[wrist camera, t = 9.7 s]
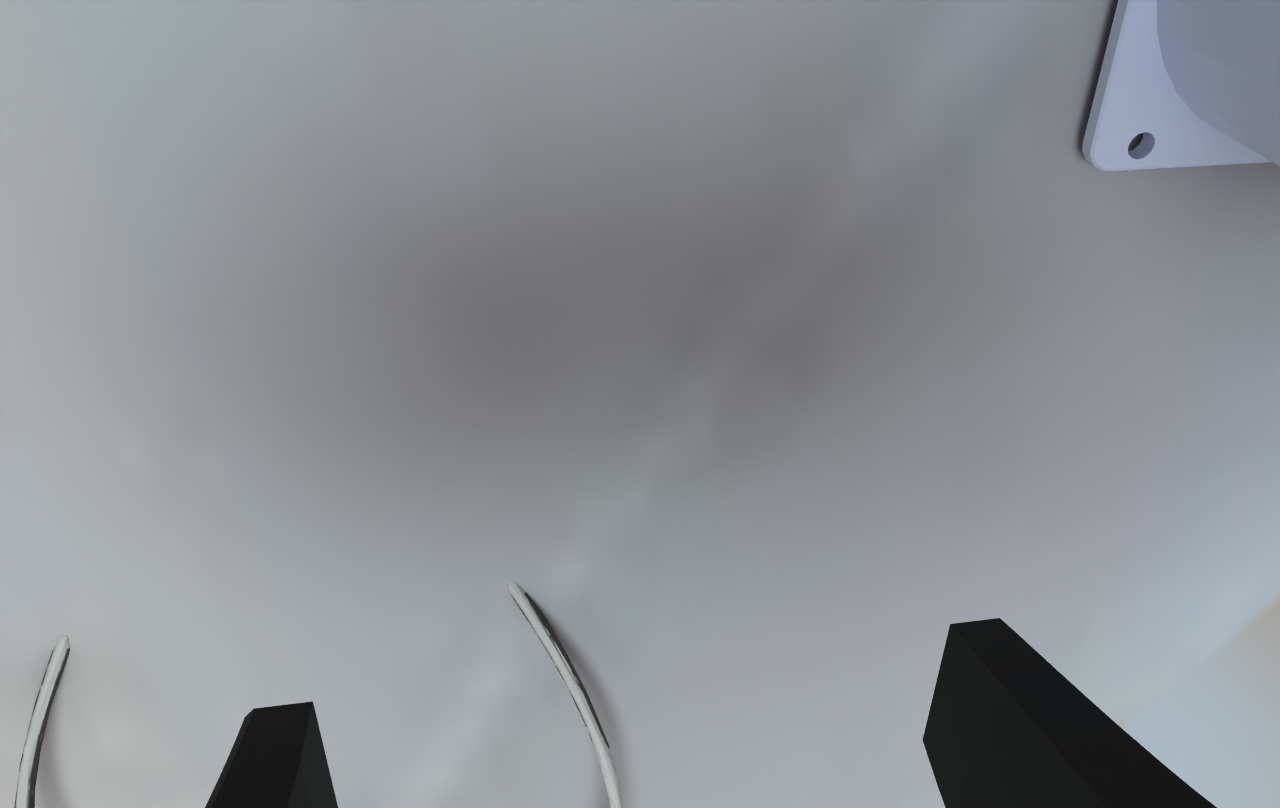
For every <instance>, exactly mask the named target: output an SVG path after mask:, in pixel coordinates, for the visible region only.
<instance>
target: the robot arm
mask: <svg viewBox="0 0 1280 808" xmlns="http://www.w3.org/2000/svg"><path fill="white" fill-rule="evenodd" d="M1141 133H1143V139H1142V141H1141V143H1140V145H1138V146H1137V147H1136V148H1135V149H1134V150H1131V151H1128V146H1129V144H1130V142H1131V140H1132V139H1133V138H1134V137H1136V136H1137V135H1138V134H1141ZM1082 152H1083V154H1084V156H1085V159H1086V160H1087V161H1089V162H1090V163H1091V164H1093V165H1094V166H1095V167H1097V168H1098V169H1099V170H1103V171H1125V170H1143V169H1161V168H1178V167H1196V166H1214V165H1231V164H1249V163H1266V162H1273V163H1274V164H1276V165H1278V166H1280V0H1118V4H1117V8H1116V12H1115V16H1114V20H1113V24H1112V28H1111V32H1110V36H1109V40H1108V44H1107V48H1106V52H1105V56H1104V60H1103V64H1102V68H1101V72H1100V76H1099V80H1098V84H1097V88H1096V92H1095V96H1094V100H1093V104H1092V108H1091V112H1090V116H1089V120H1088V124H1087V128H1086V132H1085V136H1084V140H1083V150H1082ZM923 742H924V745H925V748H926V751H927V755H928V758H929V761H930V764H931V767H932V770H933V773H934V776H935V779H936V782H937V785H938V788H939V791H940V793H941V796H942V799H943V802H944V804H945V807H946V808H1217V807H1215V806H1214V805H1213V804H1211V803H1210V802H1209V801H1208V800H1206V799H1205V798H1204V797H1203V796H1201V795H1200V794H1199V793H1197V792H1196V791H1195V790H1194V789H1192V788H1191V787H1190V786H1189V785H1188V784H1186V783H1185V782H1184V781H1183V780H1182V779H1180V778H1179V777H1178V776H1176V775H1175V774H1174V773H1173V772H1172V771H1171V770H1169V769H1168V768H1167V767H1166V766H1165V765H1163V764H1162V763H1161V762H1160V761H1159V760H1158V759H1156V758H1155V757H1154V756H1153V755H1152V754H1151V753H1150V752H1148V751H1147V750H1146V749H1145V748H1144V747H1143V746H1141V745H1140V744H1139V743H1138V742H1137V741H1136V740H1134V739H1133V738H1132V737H1131V736H1130V735H1129V734H1127V733H1126V732H1125V731H1124V730H1123V729H1122V728H1121V727H1119V726H1118V725H1117V724H1116V723H1115V722H1114V721H1113V720H1111V719H1110V718H1109V717H1108V716H1107V715H1106V714H1105V713H1104V712H1102V711H1101V710H1100V709H1099V708H1098V707H1097V706H1096V705H1095V704H1094V703H1092V702H1091V701H1090V700H1089V699H1088V698H1087V697H1086V696H1085V695H1084V694H1083V693H1081V692H1080V691H1079V690H1078V689H1077V688H1076V687H1075V686H1074V685H1073V684H1071V683H1070V682H1069V681H1068V680H1067V679H1066V678H1065V677H1064V676H1063V675H1062V674H1060V673H1059V672H1058V671H1057V670H1056V669H1055V668H1054V667H1053V666H1052V665H1051V664H1050V663H1048V662H1047V661H1046V660H1045V659H1044V658H1043V657H1042V656H1041V655H1040V654H1039V653H1038V652H1036V651H1035V650H1034V649H1033V648H1032V647H1031V646H1030V645H1029V644H1028V643H1027V642H1025V641H1024V640H1023V639H1022V638H1021V637H1020V636H1019V635H1018V634H1017V633H1016V632H1015V631H1013V630H1012V629H1011V628H1010V627H1009V626H1008V625H1007V624H1006V623H1005V622H1003V621H1002V620H1001V619H1000V618H997V619H989V620H981V621H972V622H964V623H956V624H950V628H949V632H948V636H947V640H946V645H945V649H944V653H943V657H942V661H941V665H940V670H939V674H938V678H937V682H936V686H935V691H934V695H933V699H932V703H931V707H930V711H929V716H928V720H927V724H926V728H925V732H924V737H923ZM205 808H338V806H337V802H336V797H335V793H334V789H333V785H332V781H331V776H330V772H329V768H328V764H327V759H326V755H325V751H324V747H323V743H322V738H321V734H320V730H319V726H318V721H317V717H316V713H315V709H314V705H313V702H305V703H297V704H289V705H281V706H273V707H264V708H256V709H253V710H252V711H251V712H250V713H249V714H248V715H247V716H246V717H245V718H244V721H243V723H242V726H241V728H240V731H239V733H238V736H237V738H236V741H235V743H234V745H233V748H232V750H231V752H230V755H229V757H228V759H227V762H226V764H225V766H224V768H223V771H222V773H221V775H220V777H219V779H218V782H217V784H216V786H215V788H214V790H213V792H212V794H211V797H210V799H209V801H208V803H207V805H206V807H205Z"/></svg>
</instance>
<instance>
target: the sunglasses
mask: <svg viewBox="0 0 1280 808" xmlns="http://www.w3.org/2000/svg"><path fill="white" fill-rule="evenodd" d="M508 588H509V590H510V593H511V595H512V597H513V599H514V600H515V602H516V603H517V605H518V606H519V608H520V609H521V611H522V612H523V614H524V615H525V617H526V618H527V620H528V621H529V623H530V624H531V626H532V627H533V629H534V630H535V632H536V634H537V635H538V637H539V639H540V640H541V642H542V644H543V645H544V647H545V649H546V650H547V652H548V654H549V655H550V657H551V659H552V660H553V662H554V664H555V666H556V668H557V669H558V671H559V673H560V675H561V676H562V678H563V680H564V682H565V683H566V685H567V687H568V689H569V691H570V693H571V695H572V698H573V700H574V702H575V704H576V706H577V708H578V710H579V713H580V715H581V717H582V719H583V721H584V723H585V726H586V728H587V730H588V732H589V735H590V738H591V740H592V743H593V746H594V748H595V751H596V754H597V756H598V759H599V762H600V765H601V769H602V773H603V776H604V780H605V784H606V788H607V793H608V798H609V804H610V808H622V803H621V796H620V788H619V783H618V779H617V775H616V771H615V767H614V763H613V759H612V755H611V753H610V750H609V749H610V748H609V744H608V742H607V740H606V737H605V735H604V732H603V730H602V727H601V725H600V723H599V720H598V718H597V715H596V713H595V711H594V708H593V706H592V703H591V701H590V699H589V696H588V694H587V692H586V690H585V688H584V686H583V684H582V682H581V680H580V678H579V676H578V674H577V672H576V671H575V669H574V667H573V665H572V663H571V661H570V659H569V657H568V655H567V653H566V652H565V650H564V648H563V646H562V645H561V643H560V641H559V640H558V638H557V636H556V635H555V633H554V631H553V630H552V628H551V626H550V624H549V623H548V621H547V620H546V618H545V617H544V615H543V614H542V612H541V611H540V609H539V608H538V607H537V606H536V604H535V603H534V602H533V601H532V600H531V598H530V597H529V596H528V595H527V594H526V593H525V592H524V591H523V590H522V589H521V588H520V587H519V586H518V585H517V583H516V582H508ZM69 646H70V644H69V639H68V636H67V635H61V636H59V637H58V640H57V643H56V646H55V649H54V650H53V652H52V654H51V657H50V660H49V663H48V666H47V669H46V672H45V675H44V678H43V681H42V684H41V687H40V690H39V693H38V696H37V699H36V702H35V706H34V710H33V714H32V718H31V722H30V726H29V730H28V734H27V738H26V742H25V746H24V750H23V754H22V758H21V762H20V769H19V776H18V784H17V792H16V800H15V808H35V785H36V778H37V771H38V764H39V757H40V751H41V746H42V741H43V737H44V732H45V728H46V724H47V719H48V715H49V711H50V708H51V705H52V702H53V699H54V696H55V693H56V690H57V687H58V684H59V681H60V678H61V675H62V672H63V669H64V666H65V663H66V660H67V658H68V655H69V651H70V648H69Z"/></svg>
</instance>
